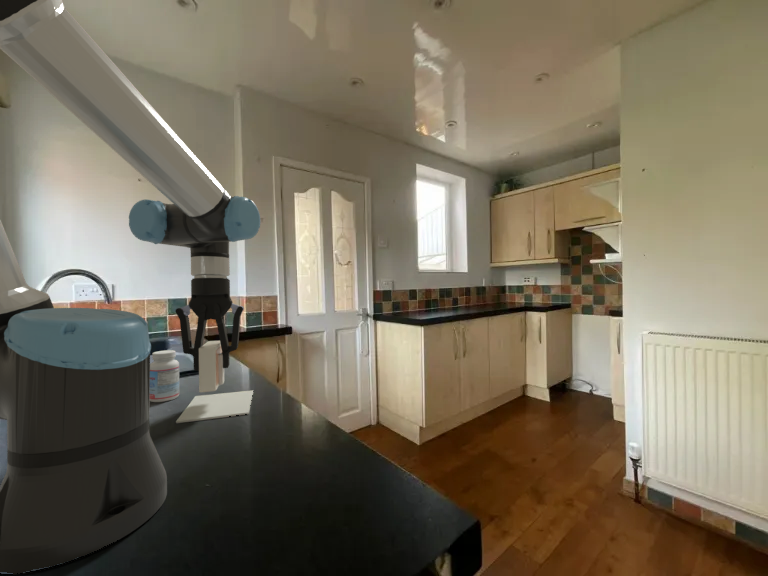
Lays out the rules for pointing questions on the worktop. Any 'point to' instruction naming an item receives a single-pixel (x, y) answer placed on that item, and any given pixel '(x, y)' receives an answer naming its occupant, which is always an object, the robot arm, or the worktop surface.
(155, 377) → the pill bottle
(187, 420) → the mat
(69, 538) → the robot arm
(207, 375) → the cream rectangular block
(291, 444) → the worktop surface
